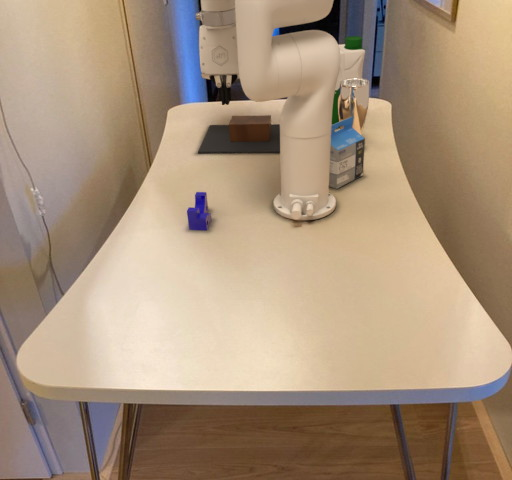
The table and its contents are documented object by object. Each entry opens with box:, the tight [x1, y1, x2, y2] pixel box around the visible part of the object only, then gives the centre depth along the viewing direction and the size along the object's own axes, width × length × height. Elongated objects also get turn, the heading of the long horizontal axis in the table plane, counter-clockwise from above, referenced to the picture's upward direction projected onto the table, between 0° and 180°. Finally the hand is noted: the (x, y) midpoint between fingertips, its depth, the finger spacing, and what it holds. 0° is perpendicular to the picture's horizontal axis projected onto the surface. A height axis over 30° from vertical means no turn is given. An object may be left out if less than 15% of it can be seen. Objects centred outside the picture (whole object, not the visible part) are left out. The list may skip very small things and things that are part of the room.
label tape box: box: [329, 116, 366, 190], centre depth 116 cm, size 9×4×12 cm, turn 132°
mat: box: [197, 123, 280, 155], centre depth 140 cm, size 18×22×1 cm
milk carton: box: [332, 35, 366, 129], centre depth 139 cm, size 9×9×20 cm
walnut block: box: [228, 114, 272, 142], centre depth 138 cm, size 6×4×10 cm
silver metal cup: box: [338, 77, 370, 137], centre depth 128 cm, size 7×7×15 cm
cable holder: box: [186, 191, 212, 231], centre depth 108 cm, size 8×4×4 cm, turn 171°
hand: (226, 102), depth 135 cm, fingers closed
